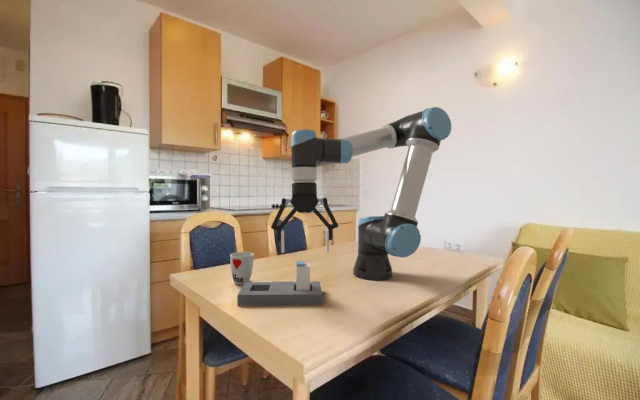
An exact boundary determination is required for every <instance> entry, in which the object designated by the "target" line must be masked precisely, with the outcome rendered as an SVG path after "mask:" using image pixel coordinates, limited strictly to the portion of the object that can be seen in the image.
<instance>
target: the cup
mask: <svg viewBox="0 0 640 400" xmlns="http://www.w3.org/2000/svg"><path fill="white" fill-rule="evenodd" d="M229 258H230V271H231V277H232V280H233V284H235V285H239V286H240V285H244V284H245V282H251V281H250V280H251V278H252V273H253V268H254V258H255V253H253V252H250V251H239V252H238V251H237V252H232V253H230V255H229Z"/></svg>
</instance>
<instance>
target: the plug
mask: <svg viewBox="0 0 640 400" xmlns="http://www.w3.org/2000/svg"><path fill="white" fill-rule="evenodd" d="M310 279H311V264H310V263H309V262H308V263H307V262H306V263H305V260H296V279H295V280H296V291H310Z"/></svg>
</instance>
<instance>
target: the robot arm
mask: <svg viewBox="0 0 640 400" xmlns="http://www.w3.org/2000/svg"><path fill="white" fill-rule="evenodd" d="M451 132H452V122H451V118H450V117H449V114H448V113H447V111H445V110H444V109H443V108H442V107H439V106H433V107H430V108H429V107H427V108H425V109H424V110H421V111H418V112H415V113H412V114H408V115H406V116H404V117H401V118H399V119H398V120H396V121H392V122H389V123H387V124H383V126H382V127H380V128H376V129H374V130H370V131H365V132H362V133H359V134H354V135H350V136H346V137H342V138H337V139H336V138H322V137H321V138H320V137H317V133H316V131H315V130H313V129H306V128H304V129H296V130H294V131H292V133H291V139H290V154H291V181H292V183H291V198H285V197H283V198H281V204H280V207H279V209H278V211H277V214H276V216H275V218H274V219H273V222H272V223H271V225H270V228H271V230H275V231H276V233H277V234H276V235H277V237H276V239H277V242H280V243H281V245H280V248H281V249H280V250H281V251H280V252H281V254H284V253H285V230H284V229H283V228H284V227H285V226H286V225H287V224H288V222H289V221H290V220H291V218H292V217H293V216H294V215H295V214H296V212H298V213H299V214H303V213H306V214H309V213H311V212H313V213H314V214H315V215H316V217H317V218H319V219H320V221H321V222H322V223H323V224H324V225H325V227H326V228H325V251H326V252H327V253H330V241H333V230H334V229H337V228H338V227H339V223H338V222H337V220H336V218H335V216H334V215H333V214H334V213H333V212H332V210H331V208H330V206H329V204H328V198H327V197H322V198H318V193H317V182H316V181H317V180H318V179H317V175H318V174H317V167H322V166H327V165H333V164H340V165H341V164H348V163H350V162H351V160H352V158H353V157H357V156H360V155H363V154H367V153H371V152H375V151H377V150H380V149H381V150H382V149H385V148H387V149H394V148H398V147H407V148H408V149H407V152H406V156H405V158H404V162H403V167H402V170H401V174H400V176H399V180H398V183H397V187H396V190H395V193H394V196H393V197H394V198H393V200H392V204H391V208H390V209H389V210H388V211H386V212H385V213H384V215H380V216H378V215H376V216H362V217H361V216H360V218H359V220H358V225H357V228H358V229H357V231H358V232H357V233H358V234H357V237H358V238H357V239H358V240H357V242H358V245H357V256H356V260H355V263H354V265H353V268H352V270H353V273H352V274H353V275H354V276H355V277H357V278H360V279H364V280H372V281H383V280H388V279H391V278H392V277H393V267H392V265H391V262H390V258H389V256H392V257H396V258H407V257H410V256H412V255H413V254H414V253H416V251H417V250H418V249H419V246H420V244H421V240H422V236H421V235H422V234H421V233H420V232H421V231H420V230H419V228H418V224H419V221H418V220H417V218H416V213H417V211H418V207H419V203H420V200H421V197H422V193H423V190H424V189H423V188H424V186H425V182H426V178H427V174H428V172H429V168H430V164H431V161H432V157H433V154H434V153H435V152H437V151H439V148H440V145H441V141H443V140H446V139H447V138H449V137H450V135H451ZM319 203H320V205H322V206H323V207H324V209H325V211H326V214H327V215H328V217H329V219H330V221H331V223H330V222H329V221H328V220H327V219H326V218H325V217H324V216H323V214H322V213H321V212H320V211H319V210H318V209H317V205H318V204H319ZM289 204H291V205H292V209H291V211H290V212H289V213H288V214H287V216H285V218H284V220H282V221H281V223H280V224H279V225H278V222H279V221H280V218H281V216H282V214H283V212H284V211H285V208H286V206H288V205H289Z"/></svg>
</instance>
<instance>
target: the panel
mask: <svg viewBox="0 0 640 400" xmlns="http://www.w3.org/2000/svg"><path fill="white" fill-rule="evenodd" d="M236 297H237V306H309V305H310V306H311V305H313V306H315V305H318V306H319V305H321V306H323V292H322V286H321V282H320V281H310V291H296V281H295V280H294V281H273V280H272V281H249V282H245V284H243V286H242V287H241V288H240V290H239V291H238V292H237V296H236Z"/></svg>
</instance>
